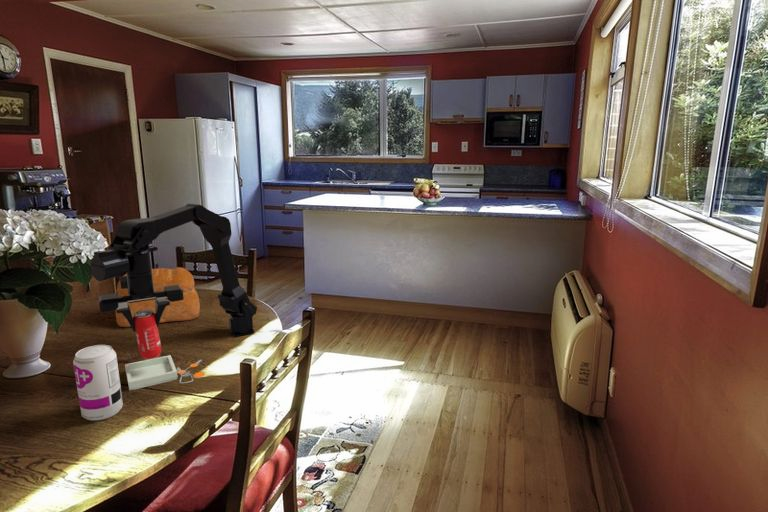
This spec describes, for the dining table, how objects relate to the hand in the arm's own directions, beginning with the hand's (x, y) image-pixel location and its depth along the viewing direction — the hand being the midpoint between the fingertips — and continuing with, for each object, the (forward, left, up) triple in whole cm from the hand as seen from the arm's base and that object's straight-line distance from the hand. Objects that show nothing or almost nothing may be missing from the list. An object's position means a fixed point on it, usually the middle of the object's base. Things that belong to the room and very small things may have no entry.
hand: (145, 329), depth 122 cm
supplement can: (+11, +13, -13) cm, 22 cm away
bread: (-8, -44, -13) cm, 47 cm away
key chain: (-9, +3, -14) cm, 17 cm away
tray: (0, 0, -13) cm, 13 cm away
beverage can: (-1, 0, -8) cm, 8 cm away
